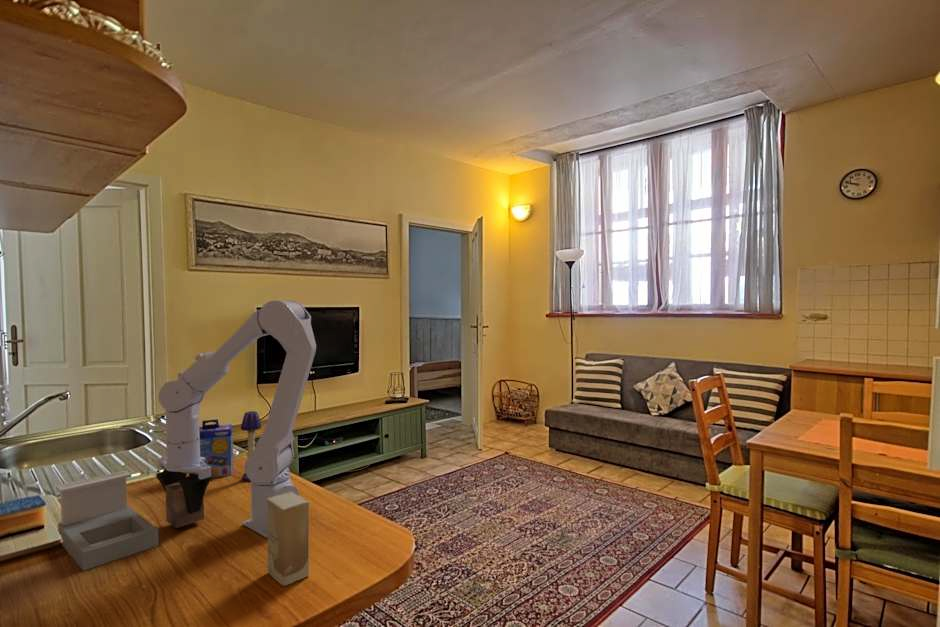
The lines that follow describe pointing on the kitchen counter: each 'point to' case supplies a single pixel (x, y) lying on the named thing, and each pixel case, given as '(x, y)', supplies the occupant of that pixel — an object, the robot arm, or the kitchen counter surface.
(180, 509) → the walnut peg
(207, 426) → the ink cartridge box
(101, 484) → the socket block
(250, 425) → the toy lamp
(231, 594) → the kitchen counter surface
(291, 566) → the skincare box
